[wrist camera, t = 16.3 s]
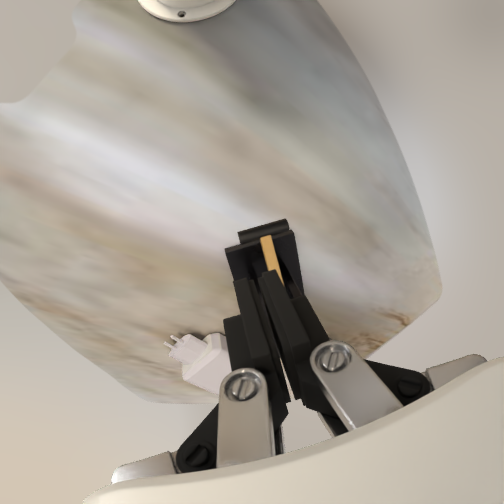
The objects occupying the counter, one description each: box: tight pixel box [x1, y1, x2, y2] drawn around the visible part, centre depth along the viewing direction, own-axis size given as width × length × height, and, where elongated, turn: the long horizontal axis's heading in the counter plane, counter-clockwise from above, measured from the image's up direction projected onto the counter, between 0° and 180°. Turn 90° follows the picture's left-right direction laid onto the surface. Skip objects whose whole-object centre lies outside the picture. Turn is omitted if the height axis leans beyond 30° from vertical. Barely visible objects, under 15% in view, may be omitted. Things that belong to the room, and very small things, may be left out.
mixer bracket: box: [225, 230, 304, 358], centre depth 36 cm, size 12×9×13 cm
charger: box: [164, 333, 232, 395], centre depth 44 cm, size 5×9×15 cm
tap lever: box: [238, 219, 289, 285], centre depth 31 cm, size 13×5×2 cm, turn 13°
